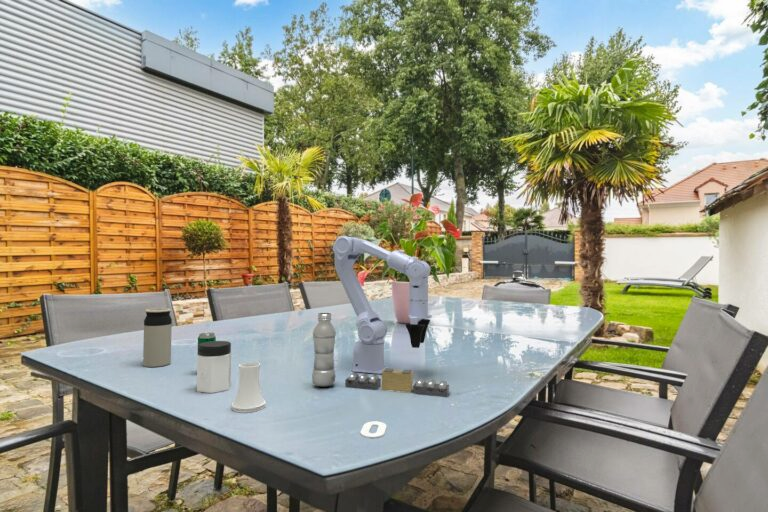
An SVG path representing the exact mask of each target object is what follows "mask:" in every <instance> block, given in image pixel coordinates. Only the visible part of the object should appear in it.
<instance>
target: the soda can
mask: <svg viewBox="0 0 768 512" xmlns="http://www.w3.org/2000/svg"><path fill="white" fill-rule="evenodd" d="M216 339H217V338H216V335H215V332H201V333H199V334H198V337H197V349H198V348H199V344H200V343H204V342H210V341H217V340H216ZM196 355H197V356H198V355H199V354H198V351H197V354H196ZM197 356H196V357H197Z"/></svg>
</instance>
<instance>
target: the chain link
mask: <svg viewBox="0 0 768 512" xmlns="http://www.w3.org/2000/svg"><path fill="white" fill-rule="evenodd" d="M372 427H377V430H376V431H375V432H373V433H372V432H371V430H372ZM387 428H388V426H387V424H386V423H384V422H382V421H376V420H375V421H368V422H365V423H364V424H363V426H362V427H361V430H360V433H359V434H360V436H361V437H363V438H366V439H379V438H382V437H384V436H385V434H386V431H387Z"/></svg>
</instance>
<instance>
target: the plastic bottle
mask: <svg viewBox="0 0 768 512" xmlns="http://www.w3.org/2000/svg"><path fill="white" fill-rule="evenodd" d="M317 321H318V322H317V324H316V325H315V327H314V328H313V331H312V340H313V350H314V351H313V352H314V353H313V354H314V360H313V369H312V374H311V380H312V383H313V385H314V386H316V387H323V388H324V387H330V386H333V385H334V383H335V381H336V378H337V377H336V376H337V375H336V369H335V361H334V360H335V359H334V356H335V355H334V354H335V352H334V351H335V343H336V334H337V332H336V328H335V327H334V325H333V324H332V322H331V321H332V313H331V312H318V314H317Z"/></svg>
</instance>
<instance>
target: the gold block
mask: <svg viewBox="0 0 768 512" xmlns="http://www.w3.org/2000/svg"><path fill="white" fill-rule="evenodd" d="M413 385H414V371H412V370H411V369H403V370H401V369H400V370H399V369H394V368H390V367H389V368H388V367H387V368H386V369H384V370H383V371H382V373H381V391H387V390H393V391H392V392H397V391H404V392H403V393H407V392H411V391H412V392H413ZM412 392H411V393H412Z"/></svg>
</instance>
